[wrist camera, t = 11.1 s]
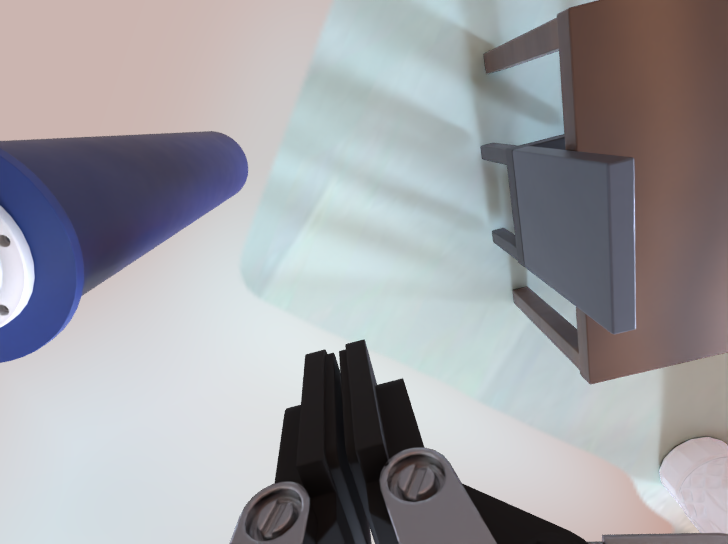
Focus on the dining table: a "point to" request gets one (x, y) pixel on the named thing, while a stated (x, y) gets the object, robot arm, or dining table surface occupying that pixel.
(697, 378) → the dining table surface
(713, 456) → the white cup
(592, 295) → the chair
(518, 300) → the desk
